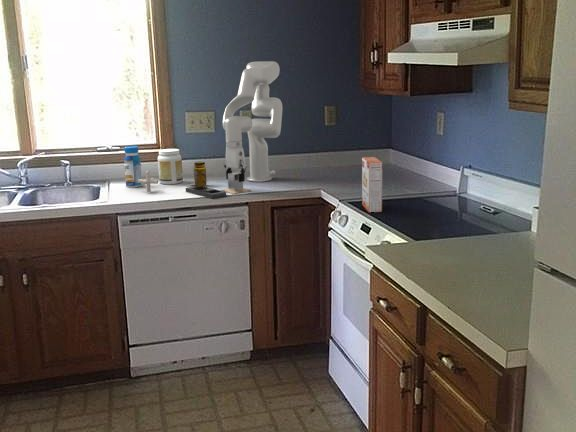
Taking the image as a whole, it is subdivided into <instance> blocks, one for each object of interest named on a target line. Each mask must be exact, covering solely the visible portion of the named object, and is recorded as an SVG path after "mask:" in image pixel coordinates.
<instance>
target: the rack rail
mask: <svg viewBox="0 0 576 432" xmlns="http://www.w3.org/2000/svg"><path fill="white" fill-rule="evenodd" d="M221 190H222V189H216V188H211V187H209V186H205V187H204V186H194V187H190V186H188V187H185V193H188V194H192V195H197V196H199V197H203V198H208V199H219V198H224V197H227V192H225V191H221Z"/></svg>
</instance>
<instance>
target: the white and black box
mask: <svg viewBox="0 0 576 432" xmlns="http://www.w3.org/2000/svg"><path fill="white" fill-rule="evenodd" d="M238 174H239V171H234V172H233V171H232V173H228V179H227V185H228V188H227V189H229V190H231V191H239V190H243V188H244V181H243V182H239V178H238Z"/></svg>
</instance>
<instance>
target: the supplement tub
mask: <svg viewBox="0 0 576 432" xmlns="http://www.w3.org/2000/svg"><path fill="white" fill-rule="evenodd" d="M182 161H183V160H182V156H181V154H180V149H179V148H165V149H164V148H163V149H160V150H158V156H157V168H158V169H157V170H158V183H160V184H162V185H178V184H181V183H182V182H183V181H184V175H183V162H182Z"/></svg>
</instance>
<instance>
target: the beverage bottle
mask: <svg viewBox="0 0 576 432" xmlns="http://www.w3.org/2000/svg"><path fill="white" fill-rule="evenodd" d="M123 150H124V154H125V156H124V158H123V162H124V165H123V168H124V174H125V175H124V177H125V178H124V179H125V187H127V188H138V187H142V186H143V185H142V184H141V183H138V180H139V179H142V178H143V175H142V163H141V160H142V159H141V157H140V155H139V146H138V145H127V146H125V147H124V148H123Z"/></svg>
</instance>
